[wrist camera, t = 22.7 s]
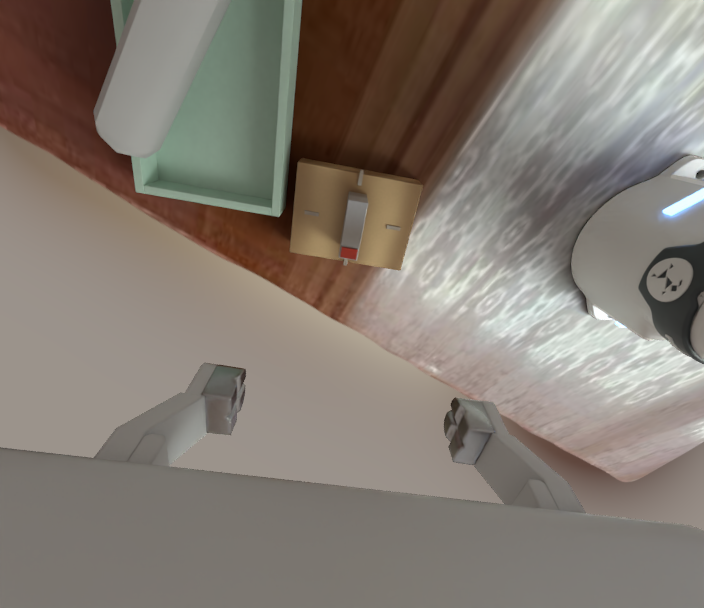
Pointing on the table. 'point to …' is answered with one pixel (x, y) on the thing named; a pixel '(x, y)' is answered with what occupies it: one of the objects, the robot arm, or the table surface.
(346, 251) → the tap knob
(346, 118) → the table surface
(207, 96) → the green tray
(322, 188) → the panel
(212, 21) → the tube
